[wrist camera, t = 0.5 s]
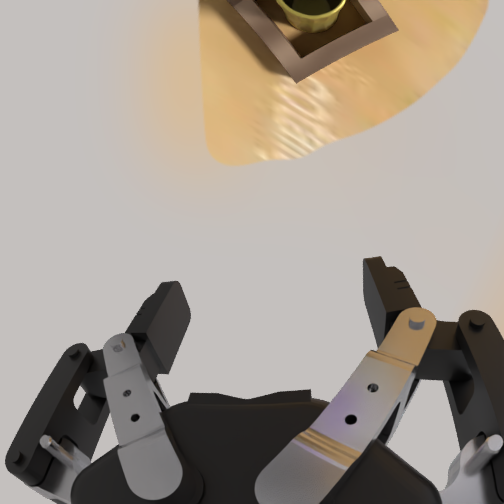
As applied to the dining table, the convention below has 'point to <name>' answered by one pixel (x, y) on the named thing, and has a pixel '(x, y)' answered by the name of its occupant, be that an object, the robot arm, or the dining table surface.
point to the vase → (311, 13)
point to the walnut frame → (327, 54)
